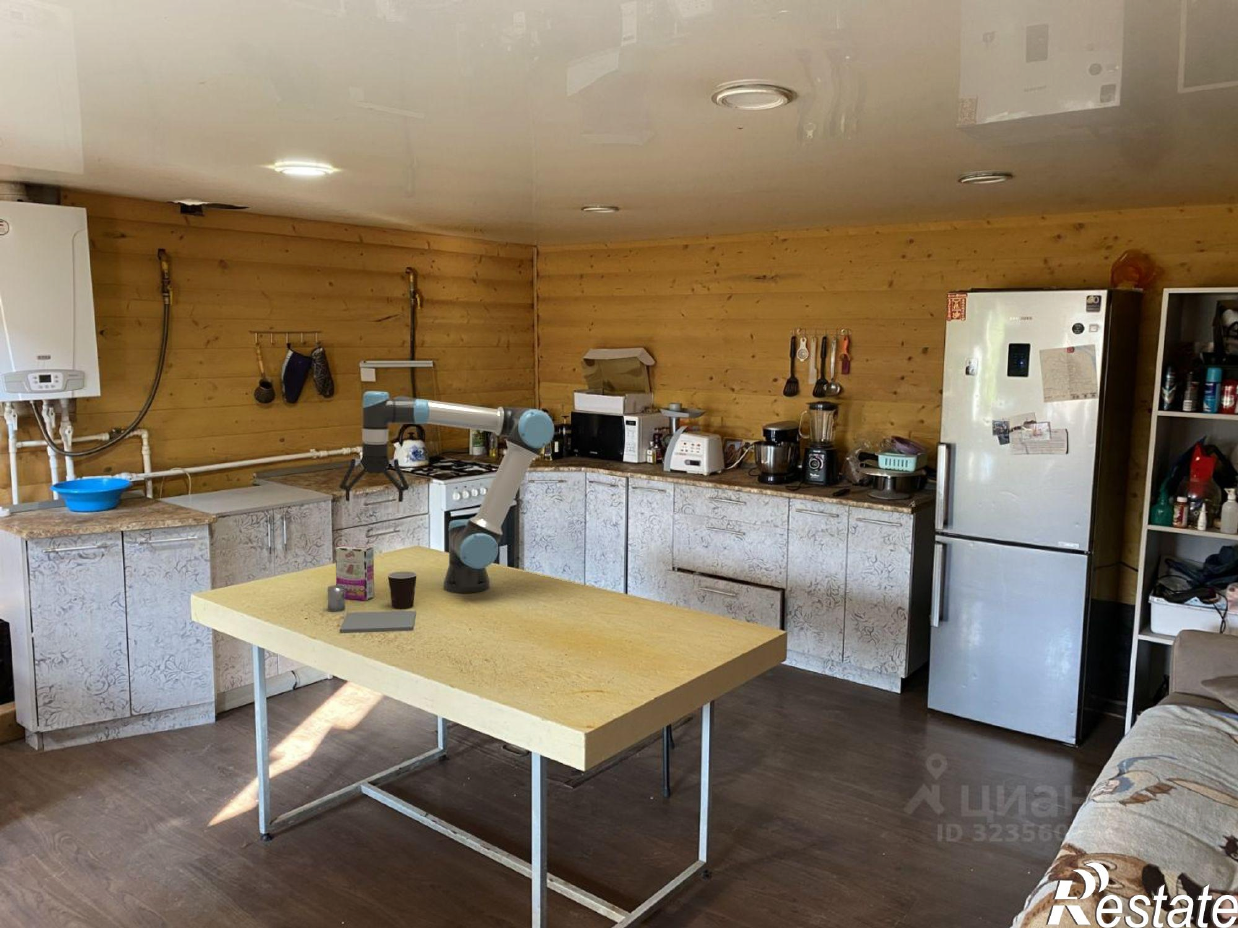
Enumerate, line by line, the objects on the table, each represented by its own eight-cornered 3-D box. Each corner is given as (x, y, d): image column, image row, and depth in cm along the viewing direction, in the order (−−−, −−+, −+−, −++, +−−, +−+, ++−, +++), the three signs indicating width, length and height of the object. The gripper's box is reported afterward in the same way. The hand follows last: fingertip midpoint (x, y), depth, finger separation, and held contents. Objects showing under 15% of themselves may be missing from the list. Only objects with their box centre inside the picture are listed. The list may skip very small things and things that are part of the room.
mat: (416, 613, 269) (416, 610, 269) (413, 630, 253) (412, 626, 253) (347, 615, 266) (347, 612, 266) (339, 632, 250) (339, 629, 250)
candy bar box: (375, 597, 286) (374, 547, 284) (366, 601, 281) (365, 550, 279) (344, 593, 289) (343, 544, 287) (335, 597, 284) (334, 547, 282)
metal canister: (346, 607, 275) (345, 584, 274) (344, 611, 270) (343, 589, 269) (329, 607, 274) (328, 585, 273) (326, 612, 269) (326, 589, 268)
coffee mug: (409, 611, 272) (409, 579, 270) (383, 609, 273) (382, 577, 272) (425, 600, 283) (425, 570, 282) (400, 598, 285) (399, 568, 283)
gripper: (418, 442, 276) (416, 510, 278) (333, 440, 271) (333, 509, 274) (417, 445, 268) (415, 514, 271) (330, 442, 264) (329, 513, 266)
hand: (374, 512), depth 272 cm, fingers open, 13 cm apart
